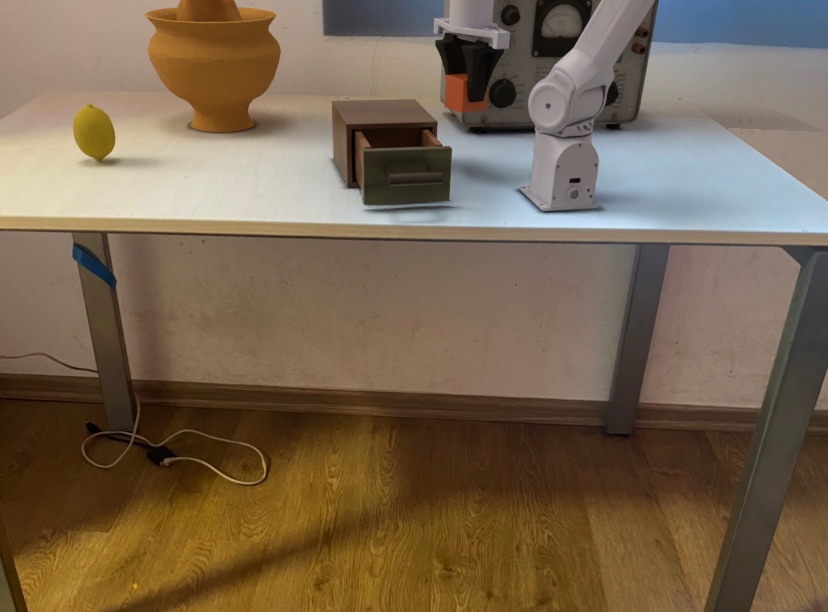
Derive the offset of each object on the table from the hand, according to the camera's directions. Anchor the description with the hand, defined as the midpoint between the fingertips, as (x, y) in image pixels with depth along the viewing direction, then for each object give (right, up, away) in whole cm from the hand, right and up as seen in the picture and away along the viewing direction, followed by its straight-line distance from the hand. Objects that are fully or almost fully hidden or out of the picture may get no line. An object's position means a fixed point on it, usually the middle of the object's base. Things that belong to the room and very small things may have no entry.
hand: (466, 98), depth 110 cm
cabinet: (-12, -8, +5) cm, 16 cm away
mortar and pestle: (-40, +5, +25) cm, 48 cm away
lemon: (-53, -7, +6) cm, 54 cm away
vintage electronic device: (+15, +8, +32) cm, 37 cm away
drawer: (-9, -15, -6) cm, 18 cm away
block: (0, -1, +1) cm, 1 cm away
